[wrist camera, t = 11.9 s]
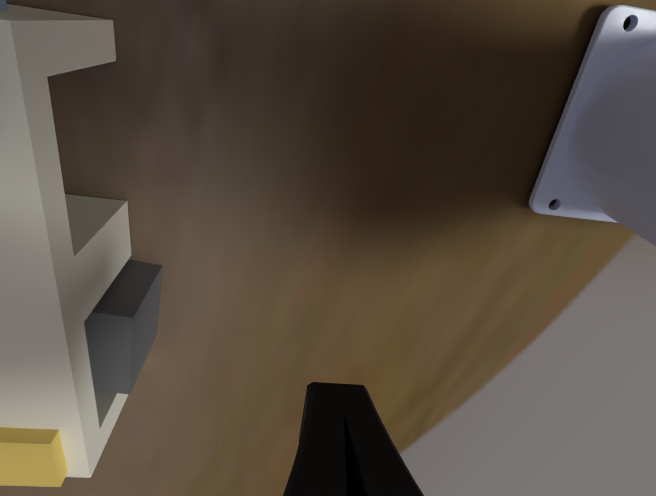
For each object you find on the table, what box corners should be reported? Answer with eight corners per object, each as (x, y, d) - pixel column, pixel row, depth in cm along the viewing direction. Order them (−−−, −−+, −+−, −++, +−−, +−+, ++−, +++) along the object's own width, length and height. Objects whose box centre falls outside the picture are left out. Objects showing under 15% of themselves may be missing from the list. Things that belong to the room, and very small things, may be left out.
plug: (162, 264, 20) (132, 318, 16) (157, 332, 21) (129, 394, 18) (44, 244, 19) (-15, 296, 15) (49, 316, 20) (-4, 378, 17)
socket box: (109, -31, 14) (-25, -67, 8) (141, 389, 23) (88, 515, 17) (-58, -60, 13) (-329, -119, 8) (41, 383, 22) (-50, 513, 16)
